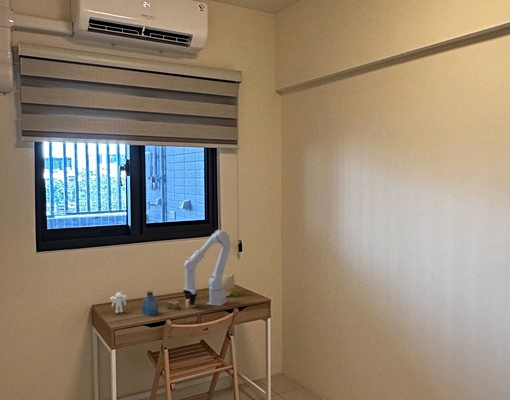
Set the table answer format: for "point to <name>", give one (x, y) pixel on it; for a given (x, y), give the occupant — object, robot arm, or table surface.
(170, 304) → the slab upper
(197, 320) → the table surface
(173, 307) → the slab lower
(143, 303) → the perfume bottle
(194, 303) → the block
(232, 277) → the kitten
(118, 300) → the hat wearing toy figure
